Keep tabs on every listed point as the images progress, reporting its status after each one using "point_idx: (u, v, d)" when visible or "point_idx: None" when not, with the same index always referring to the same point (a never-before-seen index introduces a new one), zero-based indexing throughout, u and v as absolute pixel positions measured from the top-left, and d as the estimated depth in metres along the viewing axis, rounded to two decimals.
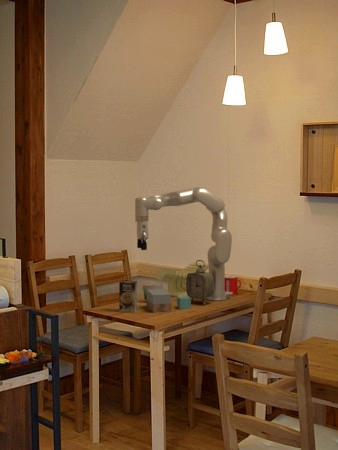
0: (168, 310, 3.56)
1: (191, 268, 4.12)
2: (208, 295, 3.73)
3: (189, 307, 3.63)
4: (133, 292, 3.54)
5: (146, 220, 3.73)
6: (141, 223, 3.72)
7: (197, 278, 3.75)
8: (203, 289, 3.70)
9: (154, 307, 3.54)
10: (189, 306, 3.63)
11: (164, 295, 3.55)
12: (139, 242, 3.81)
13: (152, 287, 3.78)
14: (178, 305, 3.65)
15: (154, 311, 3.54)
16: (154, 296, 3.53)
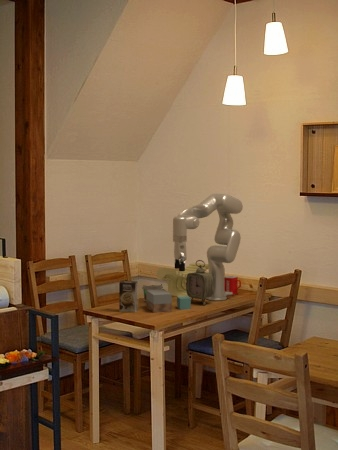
0: (168, 310, 3.56)
1: (191, 268, 4.12)
2: (208, 295, 3.73)
3: (189, 307, 3.63)
4: (133, 292, 3.54)
5: (184, 240, 3.61)
6: (179, 243, 3.59)
7: (197, 278, 3.75)
8: (203, 289, 3.70)
9: (154, 307, 3.54)
10: (189, 306, 3.63)
11: (165, 295, 3.55)
12: (176, 263, 3.69)
13: (152, 287, 3.78)
14: (178, 305, 3.65)
15: (154, 311, 3.54)
16: (155, 296, 3.53)
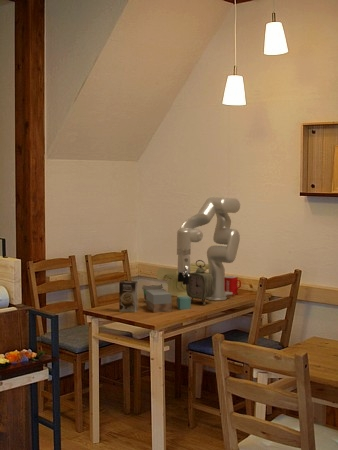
0: (169, 310, 3.56)
1: (191, 268, 4.12)
2: (208, 295, 3.73)
3: (189, 307, 3.63)
4: (133, 292, 3.54)
5: (188, 253, 3.60)
6: (183, 256, 3.59)
7: (197, 278, 3.75)
8: (203, 289, 3.70)
9: (155, 307, 3.54)
10: (189, 306, 3.63)
11: (164, 295, 3.55)
12: (180, 276, 3.68)
13: (152, 287, 3.78)
14: (178, 305, 3.65)
15: (155, 311, 3.54)
16: (155, 296, 3.54)
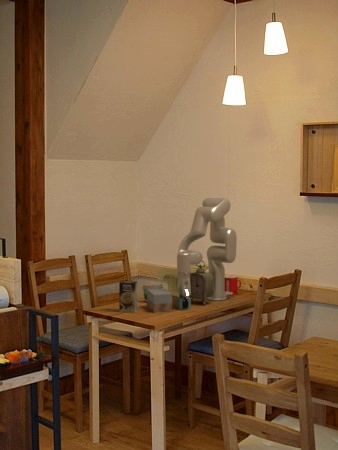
0: (169, 310, 3.56)
1: (191, 268, 4.12)
2: (208, 295, 3.73)
3: (189, 307, 3.63)
4: (133, 292, 3.54)
5: (188, 276, 3.62)
6: (183, 279, 3.60)
7: (197, 278, 3.75)
8: (203, 289, 3.70)
9: (155, 307, 3.54)
10: (189, 306, 3.63)
11: (165, 295, 3.55)
12: None
13: (152, 287, 3.78)
14: (178, 305, 3.65)
15: (155, 311, 3.54)
16: (155, 296, 3.54)
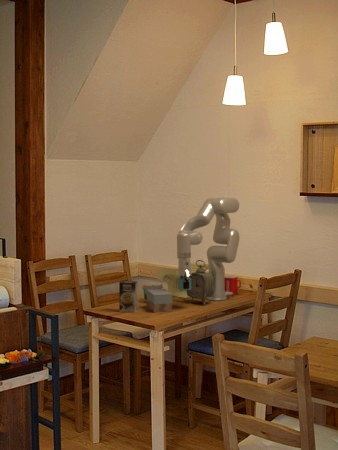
0: (169, 310, 3.56)
1: (191, 268, 4.12)
2: (208, 295, 3.73)
3: (190, 287, 3.63)
4: (133, 292, 3.54)
5: (189, 257, 3.61)
6: (184, 260, 3.59)
7: (197, 278, 3.75)
8: (203, 289, 3.70)
9: (155, 307, 3.54)
10: (190, 286, 3.63)
11: (165, 295, 3.55)
12: None
13: (152, 287, 3.78)
14: (179, 286, 3.65)
15: (155, 311, 3.54)
16: (155, 296, 3.53)
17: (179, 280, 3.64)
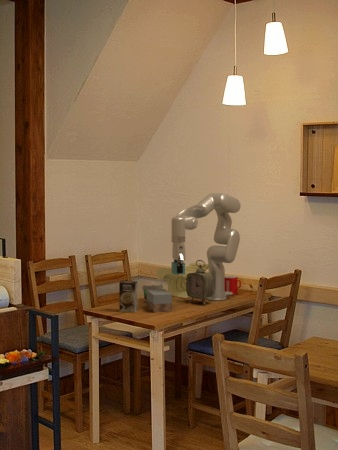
0: (169, 310, 3.56)
1: (191, 268, 4.12)
2: (208, 295, 3.73)
3: (183, 272, 3.61)
4: (133, 292, 3.54)
5: (183, 241, 3.59)
6: (178, 244, 3.58)
7: (197, 278, 3.75)
8: (203, 289, 3.70)
9: (155, 307, 3.54)
10: (183, 271, 3.61)
11: (165, 295, 3.55)
12: None
13: (152, 287, 3.78)
14: (172, 270, 3.63)
15: (155, 311, 3.54)
16: (155, 296, 3.53)
17: (173, 264, 3.62)
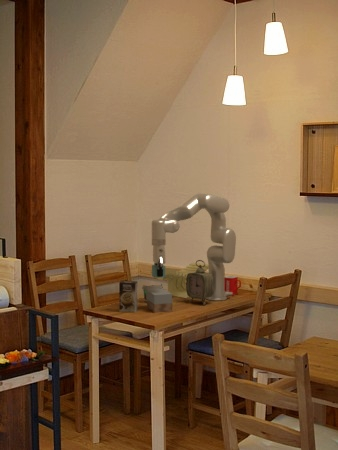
0: (169, 310, 3.56)
1: (191, 268, 4.12)
2: (208, 295, 3.73)
3: (164, 275, 3.59)
4: (133, 292, 3.54)
5: (163, 244, 3.57)
6: (158, 247, 3.56)
7: (197, 278, 3.75)
8: (203, 289, 3.70)
9: (155, 307, 3.54)
10: (164, 274, 3.59)
11: (165, 295, 3.55)
12: None
13: (152, 287, 3.78)
14: (153, 273, 3.61)
15: (155, 311, 3.54)
16: (156, 296, 3.54)
17: (153, 267, 3.60)
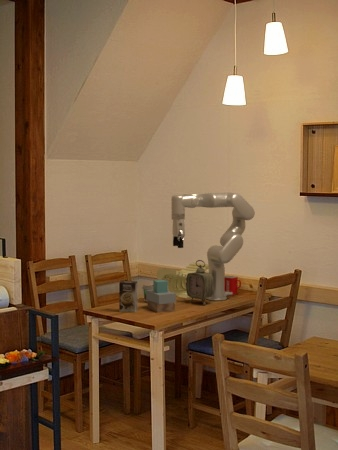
0: (171, 310, 3.57)
1: (191, 268, 4.12)
2: (208, 295, 3.73)
3: (166, 290, 3.61)
4: (133, 292, 3.54)
5: (182, 218, 3.74)
6: (178, 221, 3.72)
7: (197, 278, 3.75)
8: (203, 289, 3.70)
9: (158, 307, 3.54)
10: (166, 289, 3.61)
11: (169, 295, 3.56)
12: (175, 240, 3.81)
13: (152, 287, 3.78)
14: (155, 288, 3.62)
15: (158, 311, 3.54)
16: (160, 296, 3.54)
17: (155, 283, 3.61)
